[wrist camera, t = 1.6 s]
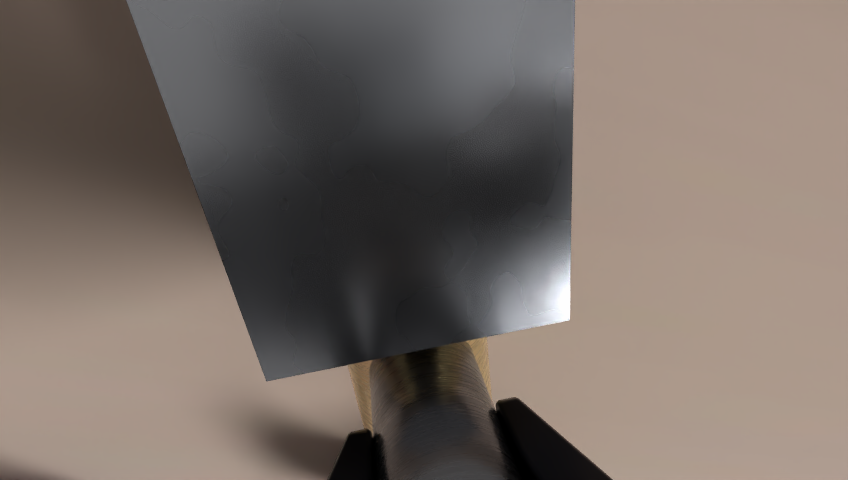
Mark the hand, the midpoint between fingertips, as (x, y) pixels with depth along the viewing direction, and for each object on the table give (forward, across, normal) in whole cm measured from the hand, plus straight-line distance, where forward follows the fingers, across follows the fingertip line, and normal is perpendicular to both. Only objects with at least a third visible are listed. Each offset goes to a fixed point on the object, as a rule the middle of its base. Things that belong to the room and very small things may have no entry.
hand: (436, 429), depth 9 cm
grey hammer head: (+6, 0, -5) cm, 7 cm away
